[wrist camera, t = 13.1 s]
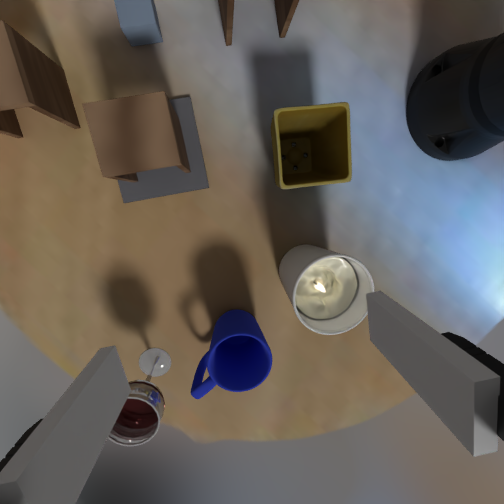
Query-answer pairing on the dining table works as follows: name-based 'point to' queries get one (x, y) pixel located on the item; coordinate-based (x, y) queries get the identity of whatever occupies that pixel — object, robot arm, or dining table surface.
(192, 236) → the dining table surface
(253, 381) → the mug
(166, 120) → the cover middle
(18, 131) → the cover left
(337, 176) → the flower pot
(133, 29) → the cube
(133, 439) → the wineglass
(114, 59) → the dining table surface
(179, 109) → the mat
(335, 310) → the candle holder
